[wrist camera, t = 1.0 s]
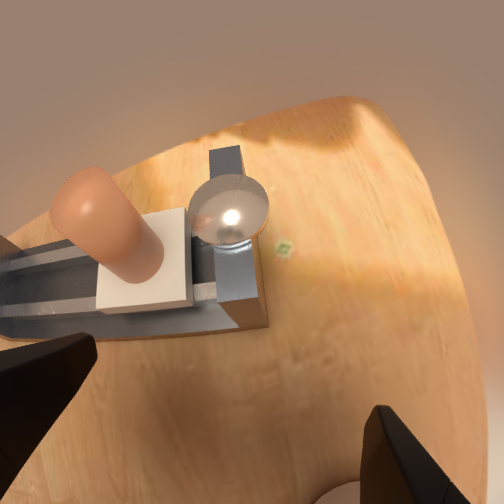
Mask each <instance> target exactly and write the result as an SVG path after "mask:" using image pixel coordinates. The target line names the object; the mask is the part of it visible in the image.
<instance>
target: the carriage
mask: <svg viewBox="0 0 504 504" xmlns="http://www.w3.org/2000/svg"><path fill="white" fill-rule="evenodd" d="M50 219H51V223H52V225H53V227H54V228H55V229H56V230H57V231H58V232H60V233H61V234H62V235H63V236H65V237H66V238H67V239H68V240H70V241H71V242H72V243H74V244H75V245H76V246H77V247H79V248H80V249H81V250H83V251H84V252H85V253H86V254H88V255H89V256H90V257H92V258H93V259H94V260H96V261H97V262H98V263H99V267H98V279H97V293H96V309H97V310H99V311H101V312H103V313H106V314H116V313H128V312H139V311H149V310H159V309H169V308H178V307H187V306H193V287H192V261H191V224H190V222H189V218H188V212H187V210H186V208H185V207H179V208H174V209H169V210H164V211H159V212H154V213H149V214H144V215H140V214H139V213H138V212H137V210H136V209H135V208H134V207H133V205H132V204H131V203H130V202H129V200H128V199H127V198H126V196H125V195H124V194H123V193H122V191H121V190H120V189H119V187H118V186H117V185H116V184H115V182H114V181H113V180H112V178H111V177H110V176H109V174H108V173H107V172H106V171H105V170H104V169H102V168H99V167H89V168H86V169H83V170H81V171H79V172H77V173H75V174H74V175H73V176H71V177H70V178H69V179H68V180H67V181H66V182H65V183H64V184H63V185H62V186H61V188H60V189H59V191H58V192H57V194H56V196H55V198H54V200H53V203H52V206H51V210H50Z"/></svg>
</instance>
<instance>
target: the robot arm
mask: <svg viewBox="0 0 504 504" xmlns="http://www.w3.org/2000/svg"><path fill="white" fill-rule="evenodd" d="M97 356H98V355H97V349H96V343H95V339H94V337H93V336H92V335H91V334H88V333H86V332H80V333H76V334H72V335H68V336H64V337H60V338H56V339H51V340H47V341H43V342H39V343H34V344H30V345H26V346H21V347H17V348H12V349H8V350H3V351H0V501H1V499H2V497H3V496H4V494H5V493H6V491H7V490H8V488H9V487H10V485H11V484H12V482H13V481H14V479H15V478H16V476H17V475H18V473H19V472H20V470H21V469H22V467H23V466H24V464H25V463H26V461H27V460H28V459H29V457H30V456H31V454H32V453H33V451H34V450H35V449H36V447H37V446H38V444H39V443H40V442H41V440H42V439H43V438H44V436H45V435H46V433H47V432H48V431H49V429H50V428H51V427H52V425H53V424H54V423H55V421H56V420H57V418H58V417H59V416H60V414H61V413H62V412H63V410H64V409H65V408H66V407H67V405H68V404H69V403H70V401H71V400H72V399H73V397H74V396H75V395H76V393H77V392H78V390H79V389H80V387H81V385H82V384H83V382H84V380H85V379H86V377H87V375H88V374H89V372H90V371H91V369H92V367H93V366H94V364H95V363H96V361H97ZM360 504H471V503H470V502H469V501H468V500H467V499H466V498H465V497H464V495H463V494H462V493H461V492H460V491H459V490H458V488H457V487H456V486H455V485H454V484H453V482H450V479H449V478H448V476H447V475H446V474H445V473H444V471H443V470H442V469H441V468H440V467H439V465H438V464H437V463H436V462H435V461H434V459H433V458H432V457H431V456H430V454H429V453H428V452H427V451H426V450H425V448H424V447H423V446H422V445H421V444H420V442H419V441H418V440H417V439H416V437H415V436H414V435H413V434H412V433H411V431H410V430H409V429H408V428H407V427H406V425H405V424H404V423H403V422H402V421H401V419H400V418H399V417H398V416H397V415H396V413H395V412H394V411H393V410H392V409H391V407H390V406H387V405H376V406H375V407H374V408H373V410H372V412H371V414H370V416H369V418H368V420H367V422H366V424H365V427H364V437H363V448H362V458H361V468H360Z"/></svg>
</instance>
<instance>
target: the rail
mask: <svg viewBox="0 0 504 504" xmlns="http://www.w3.org/2000/svg"><path fill="white" fill-rule="evenodd" d="M209 164H210V180H209V181H207V182H206V183H204V184H203V185H202V186H201V187H199V188H198V190H197V191H196V192H195V193H194V195H193V196H192V198H191V201H190V203H189V207H188V218H189V222H190V224H191V261H192V287H193V306H187V307H178V308H169V309H159V310H149V311H139V312H128V313H116V314H106V313H103V312H101V311H99V310H97V309H96V293H97V279H98V267H99V263H98V262H97V261H96V260H94V259H93V258H92V257H90V256H89V255H88V254H86V253H85V252H84V251H83V250H81V249H80V248H79V247H77V246H76V245H75V244H74V243H72V242H71V241H70V240H68V239H65V240H61V241H57V242H53V243H49V244H45V245H41V246H37V247H33V248H29V249H25V250H22V249H20V248H19V247H17V246H16V245H14V244H13V243H11V242H10V241H8V240H7V239H6V238H4V237H3V236H1V235H0V338H3V339H6V340H9V341H28V342H43V341H47V340H51V339H56V338H60V337H64V336H68V335H72V334H76V333H80V332H86V333H88V334H91V335H92V336H93V337H94V339H95V342H99V341H126V340H145V339H161V338H174V337H186V336H198V335H208V334H218V333H227V332H236V331H244V330H252V329H260V328H267V327H269V324H268V316H267V309H266V301H265V293H264V285H263V278H262V270H261V262H260V255H259V247H258V240H257V236H258V235H259V234H260V233H261V231H262V230H263V229H264V227H265V225H266V223H267V221H268V217H269V202H268V197H267V194H266V192H265V190H264V188H263V187H262V186H261V185H260V184H259V183H258V182H257V181H256V180H254V179H252V178H250V177H248V176H246V173H245V168H244V164H243V159H242V154H241V150H240V145H237V146H231V147H225V148H219V149H214V150H209Z"/></svg>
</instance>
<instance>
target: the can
mask: <svg viewBox="0 0 504 504" xmlns="http://www.w3.org/2000/svg"><path fill="white" fill-rule="evenodd" d="M314 504H360V481H355V482H349V483H347V484H344V485H341V486H338V487H336V488H334V489H332V490H331V491H329V492H328V493H326V494H324V495H323V496H321V497H320V498H319V499H318V500H317V501H316V502H315V503H314Z"/></svg>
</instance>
